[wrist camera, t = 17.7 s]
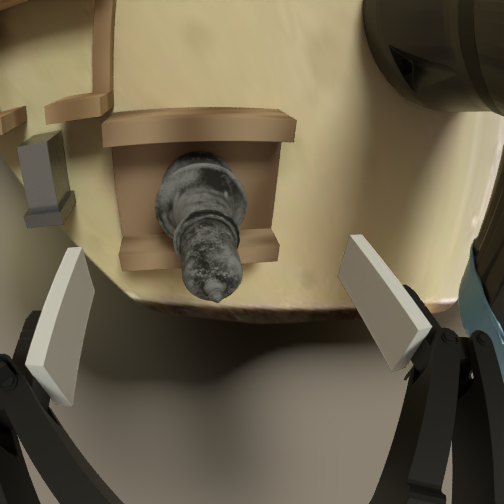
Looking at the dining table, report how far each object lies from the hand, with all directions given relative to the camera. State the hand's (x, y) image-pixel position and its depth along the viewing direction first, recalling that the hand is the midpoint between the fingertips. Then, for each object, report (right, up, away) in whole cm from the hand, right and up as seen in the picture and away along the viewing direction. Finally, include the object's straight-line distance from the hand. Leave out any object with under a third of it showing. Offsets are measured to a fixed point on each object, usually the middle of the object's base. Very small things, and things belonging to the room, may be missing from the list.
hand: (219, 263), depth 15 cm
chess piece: (-2, +5, +8) cm, 10 cm away
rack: (-3, +6, +9) cm, 11 cm away
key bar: (-14, +7, +5) cm, 16 cm away
